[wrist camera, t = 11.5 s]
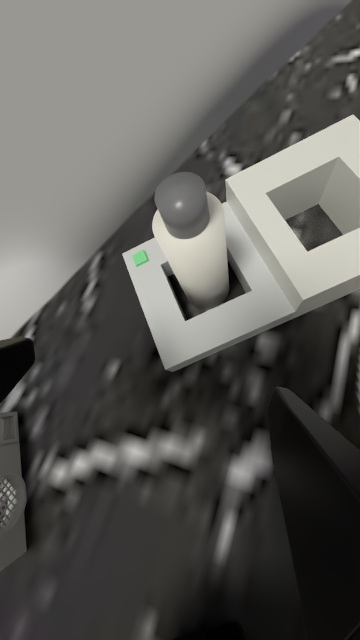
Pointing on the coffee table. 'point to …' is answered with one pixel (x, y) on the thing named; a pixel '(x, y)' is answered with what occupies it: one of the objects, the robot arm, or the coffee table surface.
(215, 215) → the plug
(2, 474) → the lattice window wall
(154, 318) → the jack housing
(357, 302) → the coffee table surface
